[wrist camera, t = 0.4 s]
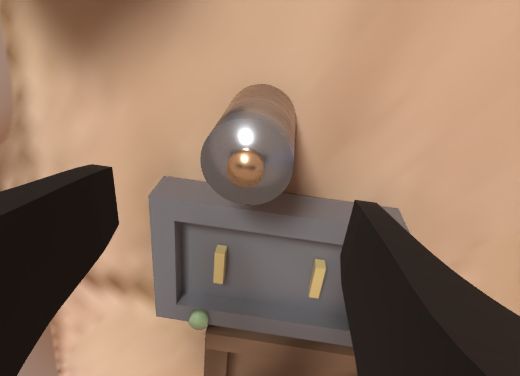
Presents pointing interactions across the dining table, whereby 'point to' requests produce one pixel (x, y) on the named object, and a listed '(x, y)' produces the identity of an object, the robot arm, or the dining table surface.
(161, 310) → the grey tray with pegs
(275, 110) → the cell
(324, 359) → the shallow wooden tray
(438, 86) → the dining table surface
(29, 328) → the robot arm
